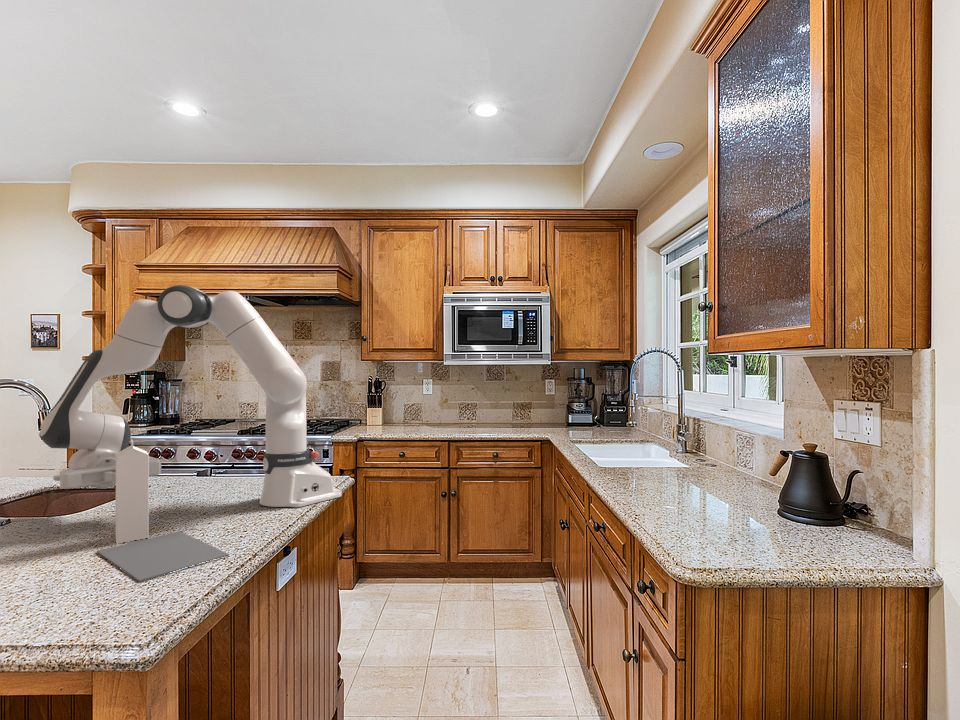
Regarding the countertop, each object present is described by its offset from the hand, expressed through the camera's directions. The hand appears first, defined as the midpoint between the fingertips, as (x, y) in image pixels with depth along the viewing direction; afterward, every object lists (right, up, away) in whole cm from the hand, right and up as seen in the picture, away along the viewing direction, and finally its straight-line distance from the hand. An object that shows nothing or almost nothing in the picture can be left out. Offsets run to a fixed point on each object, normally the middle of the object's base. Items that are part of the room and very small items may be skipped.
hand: (122, 476), depth 121 cm
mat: (+18, -13, -15) cm, 27 cm away
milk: (+5, -13, -4) cm, 15 cm away
